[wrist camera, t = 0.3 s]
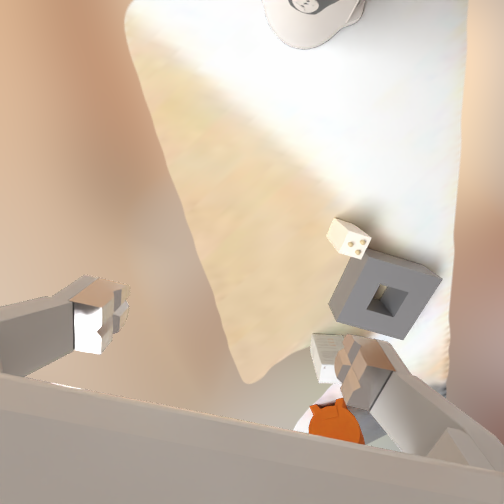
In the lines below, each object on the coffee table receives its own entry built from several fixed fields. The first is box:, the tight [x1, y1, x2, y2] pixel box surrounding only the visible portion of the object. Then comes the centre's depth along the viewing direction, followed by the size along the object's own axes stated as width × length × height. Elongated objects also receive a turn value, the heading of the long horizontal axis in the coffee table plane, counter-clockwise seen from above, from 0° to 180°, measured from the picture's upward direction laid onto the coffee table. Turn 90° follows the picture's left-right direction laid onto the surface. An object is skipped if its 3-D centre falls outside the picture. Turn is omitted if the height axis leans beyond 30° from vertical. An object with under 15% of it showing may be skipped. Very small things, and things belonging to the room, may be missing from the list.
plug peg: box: [326, 218, 371, 259], centre depth 51 cm, size 4×4×11 cm
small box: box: [310, 334, 344, 384], centre depth 62 cm, size 8×6×10 cm
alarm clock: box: [309, 398, 365, 445], centre depth 66 cm, size 13×6×20 cm, turn 112°
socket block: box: [329, 248, 442, 340], centre depth 57 cm, size 16×16×7 cm
